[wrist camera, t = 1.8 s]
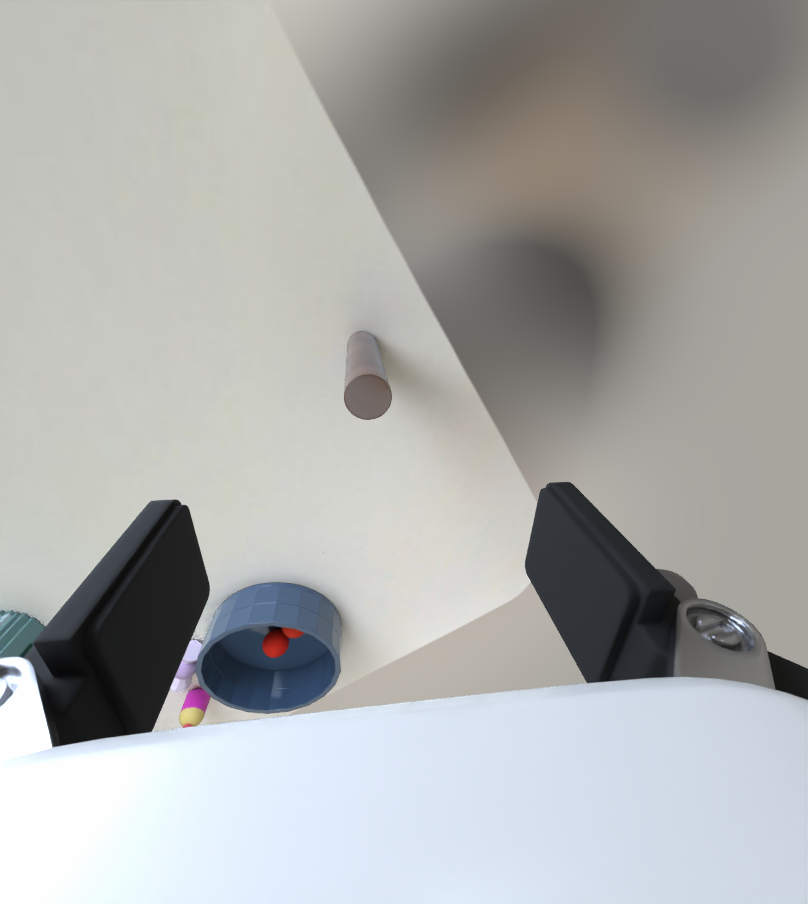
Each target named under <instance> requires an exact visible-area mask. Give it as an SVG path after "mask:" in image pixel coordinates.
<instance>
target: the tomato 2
mask: <svg viewBox="0 0 808 904" xmlns="http://www.w3.org/2000/svg"><path fill="white" fill-rule="evenodd" d="M282 631H283V633H284V634H285V635H286V636H287V637H289V638H298V637H300V636H302V635H303V634H304V632H302V631H299V630H296V629H292V628H285V627H282Z"/></svg>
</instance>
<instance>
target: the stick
mask: <svg viewBox="0 0 808 904" xmlns="http://www.w3.org/2000/svg"><path fill="white" fill-rule="evenodd" d="M391 400H392V394H391V390H390V386H389V383H388V379H387V376H386V372H385V369H384V365H383V362H382V358H381V355H380V351H379V348H378V344H377V341H376V339H375V338H374V337H373V336H372V335H371V334H370V333H368V332H363V331H361V332H357V333H355V334H353V335H352V336H351V337H350V339H349V341H348V346H347V361H346V376H345V391H344V401H345V404H346V407H347V408H348V410H349V411H350V412H351V413H352V414H353V415H354V416H356V417H358V418H361V419H365V420H370V419H375V418H378V417H380V416H382V415H383V414H384V413H385V412H386V411H387V410H388V408H389V406H390V404H391Z"/></svg>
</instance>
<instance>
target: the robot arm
mask: <svg viewBox="0 0 808 904" xmlns="http://www.w3.org/2000/svg"><path fill="white" fill-rule="evenodd" d="M525 569H526V573H527V575H528V577H529V579H530V581H531V583H532V584H533V586H534V588H535V590H536V592H537V593H538V595H539V597H540V599H541V601H542V602H543V604H544V606H545V608H546V610H547V611H548V613H549V615H550V617H551V619H552V621H553V622H554V624H555V626H556V628H557V630H558V631H559V633H560V635H561V637H562V639H563V640H564V642H565V644H566V646H567V647H568V649H569V651H570V653H571V655H572V657H573V658H574V660H575V662H576V663H577V666H578V667H579V669H580V671H581V673H582V675H583V676H584V678H585V680H586V682H587V683H585V684H575V685H565V686H556V687H546V688H538V689H537V688H536V689H527V690H517V691H507V692H498V693H488V694H479V695H469V696H460V697H451V698H442V699H432V700H423V701H414V702H405V703H396V704H387V705H378V706H369V707H360V708H351V709H341V710H334V711H333V710H332V711H323V712H315V713H306V714H297V715H289V716H280V717H272V718H263V719H254V720H246V721H237V722H228V723H220V724H211V725H202V726H194V727H186V728H179V729H171V730H163V731H156V732H151V731H152V730H153V728H154V725H155V723H156V720H157V718H158V716H159V713H160V711H161V709H162V706H163V704H164V702H165V699H166V697H167V694H168V692H169V690H170V687H171V685H172V683H173V680H174V678H175V676H176V673H177V671H178V668H179V666H180V664H181V661H182V659H183V657H184V654H185V652H186V650H187V647H188V645H189V643H190V640H191V638H192V635H193V633H194V631H195V628H196V626H197V624H198V621H199V619H200V617H201V614H202V612H203V609H204V607H205V605H206V602H207V600H208V597H209V591H210V586H209V581H208V577H207V574H206V570H205V566H204V563H203V559H202V555H201V551H200V548H199V544H198V540H197V537H196V533H195V529H194V526H193V522H192V518H191V515H190V511H189V508H188V507H187V506H186V505H181V503H180V502H179V501H178V500H158V501H151V502H150V503H148V505H147V506H146V507H145V508H144V509H143V511H142V512H141V513H140V514H139V515H138V517H137V518H136V519H135V520H134V521H133V523H132V524H131V525H130V526H129V527H128V529H127V530H126V531H125V532H124V533H123V535H122V536H121V537H120V538H119V539H118V541H117V542H116V543H115V544H114V545H113V547H112V548H111V549H110V550H109V551H108V553H107V554H106V555H105V556H104V557H103V559H102V560H101V561H100V562H99V563H98V565H97V566H96V567H95V568H94V569H93V571H92V572H91V573H90V574H89V575H88V577H87V578H86V579H85V580H84V581H83V583H82V584H81V585H80V586H79V587H78V589H77V590H76V591H75V592H74V593H73V595H72V596H71V597H70V598H69V599H68V601H67V602H66V603H65V604H64V605H63V607H62V608H61V609H60V610H59V612H58V613H57V614H56V615H55V616H54V618H53V619H52V620H51V621H50V622H49V624H48V625H47V626H46V627H45V628H44V630H43V631H42V632H41V633H40V634H39V636H38V637H37V638H36V639H35V640H34V642H33V644H34V645H33V647H32V648H31V649H30V650H29V651H28V653H27V654H26V655H25V656H24V658H21V657H4V658H0V904H808V669H807V668H805V667H802V666H800V665H798V664H796V663H793V662H791V661H789V660H786V659H784V658H782V657H780V656H777V655H775V654H773V653H771V652H768V651H767V647H766V643H765V641H764V639H763V637H762V635H761V633H760V632H759V631H758V630H757V629H756V627H755V626H754V625H753V624H752V623H750V622H749V621H748V620H747V619H746V618H744V617H743V616H742V615H740V614H738V613H737V612H735V611H734V610H732V609H730V608H728V607H725V606H724V605H721V604H719V603H716V602H713V601H710V600H706V599H698V598H691V599H685V600H684V601H682V602H680V601H679V600H678V599H677V598H676V597H675V596H674V593H675V591H676V589H675V588H674V587H673V586H672V585H671V584H670V583H669V582H668V581H667V580H666V579H665V578H664V577H663V576H662V575H661V574H660V573H659V572H658V571H657V570H656V569H655V568H654V567H653V566H652V565H651V564H650V563H649V562H648V561H647V560H646V559H645V558H644V556H643V555H642V554H640V552H638V551H637V549H636V548H635V547H634V546H633V545H632V544H631V543H630V542H629V541H628V540H627V539H626V538H625V537H624V536H623V535H622V534H621V533H620V532H619V531H618V530H617V529H616V528H615V527H614V526H613V525H612V524H611V523H610V522H609V521H608V520H607V519H606V518H605V517H604V516H603V515H602V514H601V513H600V512H599V511H598V509H597V508H596V507H594V505H593V504H592V503H591V502H590V501H589V500H588V499H587V498H586V497H585V496H584V495H583V494H582V493H581V492H580V491H579V490H578V489H577V488H576V487H575V486H574V485H573V484H571V483H570V482H558V483H549V484H547V486H546V488H543V489H541V491H540V494H539V499H538V503H537V508H536V513H535V518H534V522H533V527H532V532H531V537H530V541H529V546H528V551H527V556H526V560H525Z"/></svg>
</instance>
